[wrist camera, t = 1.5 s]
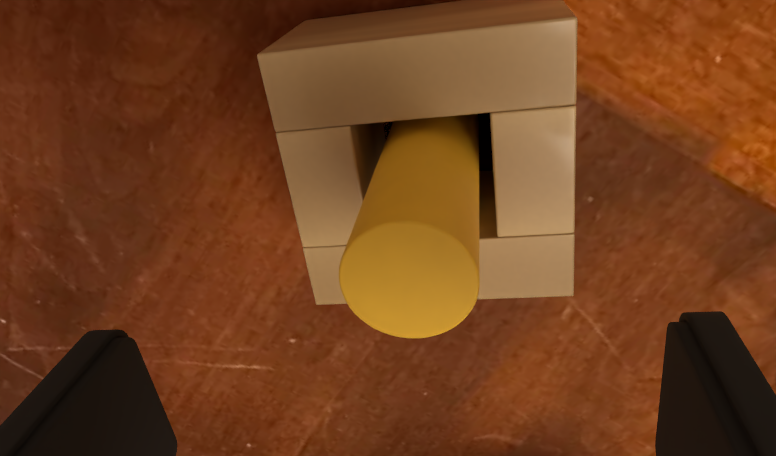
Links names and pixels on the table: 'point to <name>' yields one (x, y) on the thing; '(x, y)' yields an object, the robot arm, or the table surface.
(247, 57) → the table surface
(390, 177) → the peg
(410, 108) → the stand
